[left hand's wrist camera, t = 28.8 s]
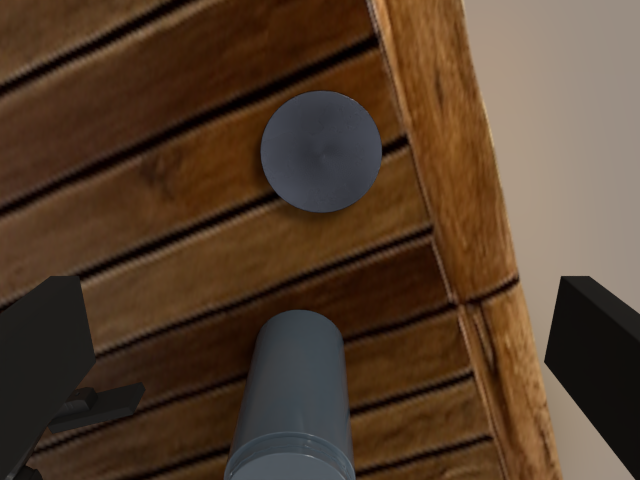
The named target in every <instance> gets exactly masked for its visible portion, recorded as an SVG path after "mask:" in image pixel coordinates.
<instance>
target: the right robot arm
mask: <svg viewBox="0 0 640 480" xmlns="http://www.w3.org/2000/svg"><path fill="white" fill-rule="evenodd" d="M144 391H145V388H144V386H143V384H142V382H140V383H136V384H132V385H128V386H124V387H120V388H116V389H112V390H108V391H104V392H99V393H96V392H95V391H94V389H93V388H88V387H85V388H81V389H77V390H74V391H73V392H72V394H71V395H70V396H69V397H68V399H67V400H66V401H65V403H64V404H63V405H62V406H61V408H60V409H59V410H58V412H57V413H56V414H55V415H54V417H53V418H52V419H51V420H52V421H51V422H50V424H49V423H48V424H49V425H48V424H47V426H48V428H49V429H50V431H51V432H52V434H53V433H57V432H62V431H66V430H70V429H74V428H78V427H83V426H87V425H91V424H95V423H99V422H103V421H108V420H112V419H116V418H120V417H124V416H129V415H133V413H134V411H135V409H136V407H137V405H138V403H139V401H140V399H141V397H142V395H143V393H144ZM47 426H46V427H47ZM46 427H45V428H44V430H43V431H42V432H41V433H40V435H39V436H38V437H37V439H36V440H35V441H34V442H33V444H32V445H31V446H30V448H29V449H28V450H27V452H26V453H25V454H24V455H23V457H22V458H21V459H20V461H19V462H18V463H17V464H16V466H15V467H14V468H13V470H12V471H11V472H10V473H9V475H8V476H7V477H6V479H5V480H43V479H42V476H41V474H40V473H39V471H38V470H37V469H34V470H33V469H32V468H30V467H28V466H25V465H26V463H27V461H28V459H29V458H30V456H31V454H32V453H33V451H34V448H35V446H36V445H37V443H38V441H39V439H40V438H41V436H42V434H43V432H44V431H45V429H46Z"/></svg>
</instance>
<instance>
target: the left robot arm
mask: <svg viewBox="0 0 640 480" xmlns="http://www.w3.org/2000/svg"><path fill="white" fill-rule="evenodd" d="M95 363H96V360H95V354H94V349H93V344H92V339H91V334H90V329H89V324H88V319H87V314H86V309H85V304H84V299H83V294H82V289H81V284H80V279H79V276H50V277H49V278H48V279H46V280H45V281H44V282H42V283H41V284H40V285H38V286H37V287H36V288H34V289H33V290H32V291H30V292H29V293H28V294H26V295H25V296H24V297H22V298H21V299H20V300H18V301H17V302H16V303H14V304H13V305H12V306H10V307H9V308H8V309H6V310H5V311H4V312H2V313H1V314H0V480H5V479H6V477H7V476H8V475H9V473H10V472H11V471H12V470H13V468H14V467H15V466H16V464H17V463H18V462H19V461H20V459H21V458H22V457H23V455H24V454H25V453H26V452H27V450H28V449H29V448H30V446H31V445H32V444H33V442H34V441H35V440H36V439H37V437H38V436H39V435H40V433H41V432H42V431H43V430H44V428H45V427H46V426H47V424H48V423H49V422H50V421H51V419H52V418H53V417H54V415H55V414H56V413H57V412H58V410H59V409H60V408H61V406H62V405H63V404H64V403H65V401H66V400H67V399H68V397H69V396H70V395H71V394H72V392H73V391H74V390H75V388H76V387H77V386H78V384H79V383H80V382H81V381H82V379H83V378H84V377H85V375H86V374H87V373H88V372H89V370H90V369H91V368H92V366H93V365H94V364H95ZM544 363H545V364H546V365H547V366H548V368H549V369H550V370H551V372H552V373H553V374H554V375H555V377H556V378H557V379H558V381H559V382H560V383H561V384H562V386H563V387H564V388H565V390H566V391H567V392H568V394H569V395H570V396H571V397H572V399H573V400H574V401H575V403H576V404H577V405H578V406H579V408H580V409H581V410H582V412H583V413H584V414H585V415H586V417H587V418H588V419H589V421H590V422H591V423H592V424H593V426H594V427H595V428H596V429H597V431H598V432H599V433H600V435H601V436H602V437H603V439H604V440H605V441H606V442H607V444H608V445H609V446H610V448H611V449H612V450H613V452H614V453H615V454H616V455H617V457H618V458H619V459H620V461H621V462H622V463H623V464H624V466H625V467H626V468H627V470H628V471H629V472H630V473H631V475H632V476H633V477H634V479H635V480H640V314H639V313H638V312H636V311H635V310H634V309H632V308H631V307H630V306H628V305H627V304H626V303H624V302H623V301H622V300H620V299H619V298H618V297H616V296H615V295H614V294H612V293H611V292H610V291H608V290H607V289H606V288H604V287H603V286H602V285H600V284H599V283H598V282H596V281H595V280H594V279H592V278H591V277H590V276H561V279H560V284H559V289H558V294H557V299H556V304H555V309H554V314H553V319H552V325H551V329H550V335H549V340H548V345H547V349H546V355H545V360H544Z"/></svg>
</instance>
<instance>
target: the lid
mask: <svg viewBox="0 0 640 480" xmlns="http://www.w3.org/2000/svg"><path fill="white" fill-rule="evenodd" d="M260 153H261V162H262V167H263V170H264V173H265V176H266V178H267V180H268V182H269V184H270V185H271V187H272V188H273V189H274V191H275V192H276V193H277V194H278V195H279V196H280V197H281V198H282V199H283V200H285V201H286V202H288V203H289V204H291V205H293V206H295V207H297V208H299V209H302V210H305V211H309V212H317V213H326V212H333V211H337V210H341V209H343V208H346V207H348V206H350V205H352V204H353V203H355V202H356V201H358V200H359V199H360V198H361V197H362V196H363V195H364V194H365V193H366V192H367V191H368V190H369V189H370V187H371V186H372V184H373V183H374V181H375V179H376V177H377V175H378V172H379V169H380V165H381V159H382V144H381V138H380V134H379V131H378V129H377V126H376V124H375V122H374V120H373V119H372V117H371V116H370V115H369V113H368V112H367V111H366V110H365V109H364V108H363V107H362V106H361V105H360V104H359V103H357V102H356V101H355V100H353V99H352V98H350V97H348V96H346V95H344V94H341V93H338V92H335V91H329V90H313V91H308V92H304V93H301V94H299V95H297V96H294V97H292V98H291V99H289V100H288V101H286V102H285V103H284V104H283V105H282V106H280V107H279V108H278V109H277V110H276V112H275V113H274V114H273V115H272V117H271V118H270V120H269V121H268V123H267V125H266V127H265V130H264V133H263V136H262V141H261V151H260Z"/></svg>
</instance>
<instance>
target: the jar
mask: <svg viewBox="0 0 640 480" xmlns="http://www.w3.org/2000/svg"><path fill="white" fill-rule="evenodd" d="M224 480H356V477H355V466H354V454H353V443H352V432H351V420H350V409H349V398H348V386H347V375H346V363H345V352H344V343H343V338H342V336H341V333H340V332H339V330H338V328H337V327H336V326H335V325H334V324H333V323H332V322H331V321H330V320H329V319H327V318H326V317H324V316H323V315H321V314H318V313H316V312H312V311H308V310H291V311H286V312H283V313H280V314H278V315H276V316H274V317H272V318H271V319H270V320H268V321H267V322H266V323H265V324H264V325H263V327H262V328H261V330H260V331H259V333H258V336H257V339H256V343H255V347H254V351H253V355H252V360H251V364H250V368H249V372H248V376H247V380H246V385H245V389H244V393H243V397H242V401H241V406H240V410H239V414H238V418H237V422H236V426H235V431H234V435H233V439H232V443H231V447H230V452H229V456H228V460H227V464H226V468H225V473H224Z"/></svg>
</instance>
